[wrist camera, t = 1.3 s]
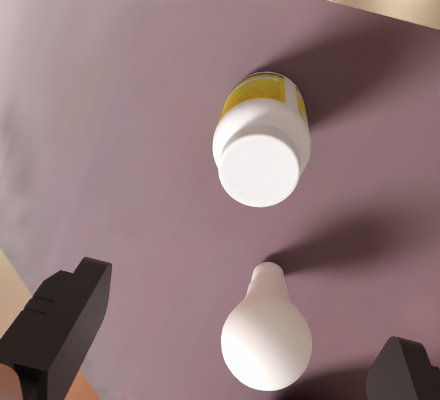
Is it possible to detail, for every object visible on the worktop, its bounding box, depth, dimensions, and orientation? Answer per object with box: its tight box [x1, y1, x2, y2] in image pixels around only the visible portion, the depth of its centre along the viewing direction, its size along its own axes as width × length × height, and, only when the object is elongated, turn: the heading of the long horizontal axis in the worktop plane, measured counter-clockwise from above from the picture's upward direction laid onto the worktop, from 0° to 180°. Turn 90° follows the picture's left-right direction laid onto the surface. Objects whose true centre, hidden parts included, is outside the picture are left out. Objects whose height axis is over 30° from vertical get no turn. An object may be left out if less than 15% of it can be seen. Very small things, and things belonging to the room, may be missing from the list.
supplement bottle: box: [213, 72, 311, 207], centre depth 24 cm, size 5×5×10 cm
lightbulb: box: [221, 262, 312, 391], centre depth 30 cm, size 6×6×11 cm
